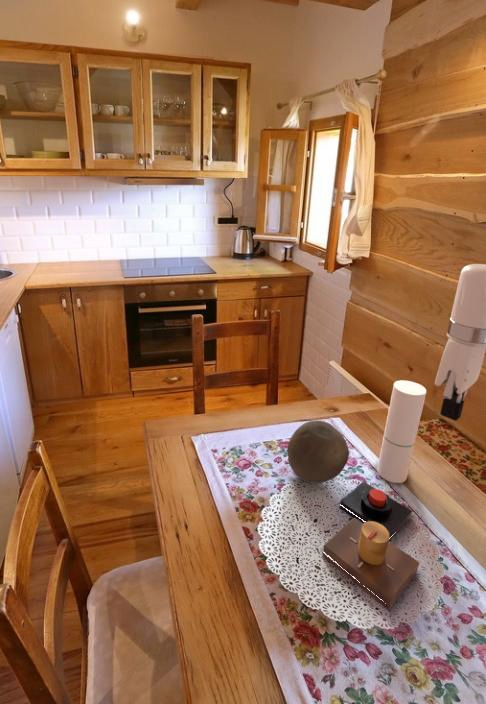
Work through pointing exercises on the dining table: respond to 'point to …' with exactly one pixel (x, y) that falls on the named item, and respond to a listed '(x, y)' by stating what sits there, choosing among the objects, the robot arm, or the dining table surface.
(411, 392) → the cylindrical container
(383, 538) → the dial knob
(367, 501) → the button box
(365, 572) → the knob panel
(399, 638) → the dining table surface
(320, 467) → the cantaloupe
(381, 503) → the red button
